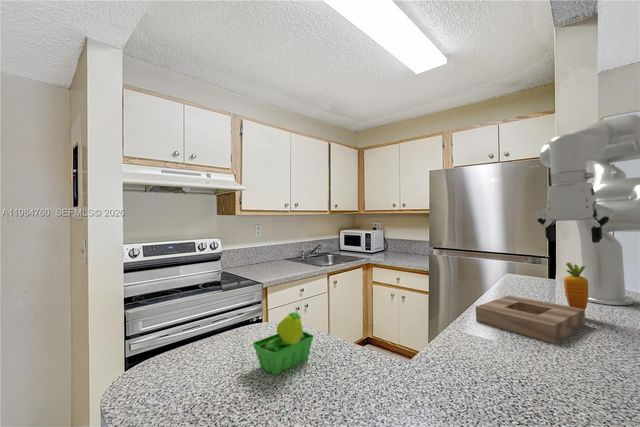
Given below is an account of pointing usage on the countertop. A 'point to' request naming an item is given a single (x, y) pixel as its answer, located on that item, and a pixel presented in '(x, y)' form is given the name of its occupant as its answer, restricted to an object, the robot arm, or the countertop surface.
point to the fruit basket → (284, 346)
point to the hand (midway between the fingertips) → (572, 241)
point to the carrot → (576, 287)
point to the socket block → (532, 317)
